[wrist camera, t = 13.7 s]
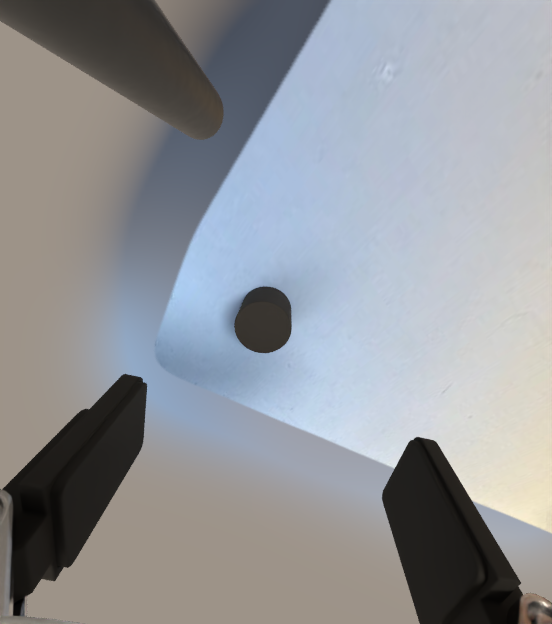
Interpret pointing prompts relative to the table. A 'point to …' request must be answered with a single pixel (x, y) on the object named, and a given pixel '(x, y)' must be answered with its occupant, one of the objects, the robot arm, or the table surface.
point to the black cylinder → (264, 320)
